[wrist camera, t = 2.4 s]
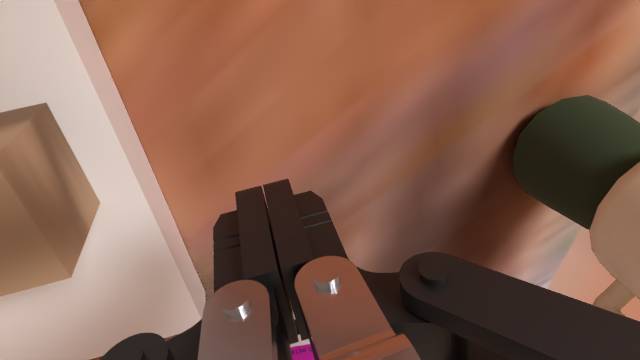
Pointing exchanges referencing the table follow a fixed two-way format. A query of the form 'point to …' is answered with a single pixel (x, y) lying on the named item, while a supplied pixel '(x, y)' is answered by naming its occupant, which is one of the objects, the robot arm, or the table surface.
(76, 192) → the walnut block
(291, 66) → the table surface
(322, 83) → the table surface
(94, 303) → the board
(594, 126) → the character mug
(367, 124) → the table surface
